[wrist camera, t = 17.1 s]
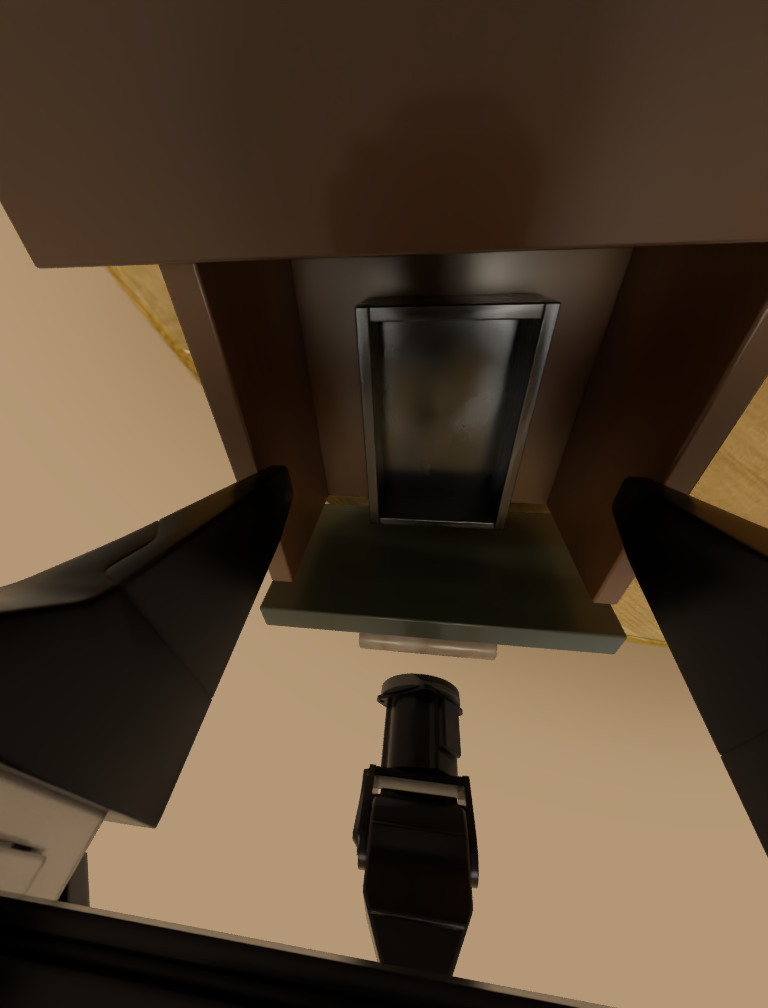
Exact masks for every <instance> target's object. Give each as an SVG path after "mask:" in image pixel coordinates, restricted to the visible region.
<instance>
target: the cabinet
mask: <svg viewBox="0 0 768 1008" xmlns="http://www.w3.org/2000/svg"><path fill="white" fill-rule="evenodd" d="M0 202H1V204H2V206H3V207H4V209H5V211H6V213H7V215H8V217H9V219H10V221H11V222H12V224H13V226H14V228H15V230H16V231H17V233H18V235H19V237H20V239H21V240H22V242H23V244H24V246H25V248H26V250H27V252H28V253H29V255H30V257H31V259H32V261H33V263H34V264H35V266H36V267H38V268H67V267H94V266H95V267H96V266H124V265H152V264H179V263H207V262H235V261H263V260H291V259H319V258H347V257H375V256H403V255H431V254H459V253H487V252H514V251H542V250H570V249H598V248H626V247H654V246H682V245H710V244H738V243H766V242H768V0H0Z"/></svg>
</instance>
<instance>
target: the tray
mask: <svg viewBox="0 0 768 1008" xmlns="http://www.w3.org/2000/svg"><path fill="white" fill-rule="evenodd" d="M560 306H561V302H559V301H556V300H554V299H551V298H549V297H546V296H543V295H541V294H538V293H509V294H470V295H431V296H391V297H368V298H366V299H365V300H364V301H362V302H361V303H360V304H358V305H357V306H355V308H354V309H355V323H356V336H357V350H358V363H359V377H360V390H361V404H362V417H363V431H364V444H365V457H366V471H367V484H368V498H369V511H370V523H371V524H376V525H379V524H380V525H396V526H417V527H437V528H458V529H478V530H493V529H494V530H499V531H503V530H504V526H505V523H506V519H507V515H508V511H509V507H510V503H511V499H512V495H513V491H514V487H515V483H516V479H517V475H518V471H519V468H520V464H521V460H522V456H523V452H524V448H525V444H526V440H527V436H528V432H529V428H530V424H531V420H532V416H533V412H534V409H535V405H536V401H537V397H538V393H539V389H540V385H541V381H542V377H543V373H544V369H545V365H546V361H547V357H548V354H549V350H550V346H551V342H552V338H553V334H554V330H555V326H556V322H557V318H558V314H559V310H560Z"/></svg>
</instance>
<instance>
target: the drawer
mask: <svg viewBox="0 0 768 1008" xmlns="http://www.w3.org/2000/svg"><path fill="white" fill-rule="evenodd" d="M159 267H160V270H161V272H162V275H163V278H164V281H165V283H166V286H167V289H168V292H169V294H170V297H171V300H172V303H173V306H174V308H175V311H176V314H177V317H178V319H179V322H180V325H181V328H182V331H183V333H184V336H185V339H186V342H187V344H188V347H189V350H190V353H191V356H192V358H193V361H194V364H195V367H196V369H197V372H198V375H199V378H200V381H201V383H202V386H203V389H204V392H205V394H206V397H207V400H208V402H209V406H210V408H211V411H212V414H213V417H214V419H215V422H216V424H217V428H218V430H219V433H220V435H221V439H222V442H223V444H224V447H225V450H226V453H227V455H228V458H229V461H230V464H231V466H232V469H233V472H234V475H235V478H236V480H237V482H238V481H240V480H242V479H244V478H246V477H248V476H250V475H253V474H255V473H257V472H259V471H261V470H263V469H265V468H267V467H269V466H271V465H283V466H286V467H287V469H288V471H289V475H290V479H291V483H292V487H293V499H292V503H291V506H290V509H289V513H288V516H287V520H286V523H285V527H284V530H283V533H282V537H281V540H280V542H279V545H278V547H277V550H276V552H275V554H274V557H273V559H272V561H271V563H270V566H269V568H268V569H269V572H270V574H271V578H272V580H273V581H272V583H271V586H270V587H269V590H268V592H267V594H266V596H265V598H264V600H263V602H262V604H261V606H260V610H261V612H262V615H263V617H264V619H265V622H266V624H268V625H277V626H289V627H300V628H313V629H324V630H335V631H347V632H359V645H360V647H361V648H365V649H376V650H388V651H398V652H409V653H420V654H431V655H442V656H453V657H465V658H475V659H486V660H494V659H495V658H496V654H497V644H499V645H510V646H522V647H534V648H546V649H557V650H570V651H580V652H592V653H605V654H615V653H616V652H617V650H618V649H619V648H620V646H621V645H622V644H623V643H624V641H625V640H626V639H627V636H626V634H625V632H624V630H623V628H622V626H621V624H620V622H619V620H618V618H617V616H616V614H615V612H614V610H613V609H612V607H611V605H610V604H617V603H618V602H619V600H620V599H621V597H622V595H623V594H624V592H625V591H626V589H627V588H628V586H629V585H630V583H631V582H632V580H633V579H634V577H635V574H634V572H633V570H632V568H631V565H630V563H629V561H628V558H627V555H626V553H625V550H624V547H623V544H622V541H621V537H620V534H619V531H618V528H617V525H616V522H615V519H614V516H613V513H612V503H613V500H614V498H615V496H616V494H617V492H618V490H619V488H620V486H621V484H622V482H623V480H624V479H625V478H627V477H631V476H634V477H647V478H650V479H652V480H654V481H657V482H659V483H661V484H664V485H666V486H668V487H671V488H673V489H675V490H678V491H680V492H682V493H685V494H687V495H689V494H690V492H691V491H692V489H693V488H694V486H695V485H696V483H697V482H698V480H699V479H700V477H701V476H702V474H703V473H704V471H705V470H706V468H707V467H708V465H709V464H710V462H711V461H712V459H713V458H714V456H715V454H716V453H717V451H718V450H719V448H720V447H721V445H722V444H723V442H724V441H725V439H726V438H727V436H728V435H729V433H730V432H731V430H732V429H733V427H734V426H735V424H736V423H737V421H738V420H739V418H740V417H741V415H742V414H743V412H744V411H745V409H746V407H747V406H748V404H749V403H750V401H751V400H752V398H753V397H754V395H755V394H756V392H757V391H758V389H759V388H760V386H761V385H762V383H763V382H764V380H765V379H766V377H767V376H768V242H766V243H738V244H710V245H682V246H654V247H626V248H598V249H570V250H542V251H514V252H487V253H459V254H431V255H403V256H375V257H347V258H319V259H291V260H263V261H235V262H207V263H179V264H159ZM509 293H538V294H541V295H543V296H546V297H549V298H551V299H554V300H556V301H559V302H561V306H560V310H559V314H558V318H557V322H556V326H555V330H554V334H553V338H552V342H551V346H550V350H549V354H548V357H547V361H546V365H545V369H544V373H543V377H542V381H541V385H540V389H539V393H538V397H537V401H536V405H535V409H534V412H533V416H532V420H531V424H530V428H529V432H528V436H527V440H526V444H525V448H524V452H523V456H522V460H521V464H520V468H519V471H518V475H517V479H516V483H515V487H514V491H513V495H512V499H511V503H532V504H547V506H548V508H549V510H550V512H551V514H539V513H517V512H508V515H507V519H506V523H505V526H504V530H503V531H499V530H494V529H493V530H478V529H458V528H437V527H417V526H396V525H380V524H379V525H376V524H371V523H370V511H369V506H360V505H337V504H325V502H326V500H327V497H328V495H340V496H364V497H368V484H367V471H366V457H365V444H364V431H363V417H362V404H361V390H360V377H359V363H358V350H357V336H356V323H355V309H354V308H355V306H357V305H358V304H360V303H361V302H362V301H364V300H365V299H366V298H368V297H391V296H431V295H470V294H509Z"/></svg>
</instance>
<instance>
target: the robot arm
mask: <svg viewBox="0 0 768 1008" xmlns="http://www.w3.org/2000/svg"><path fill="white" fill-rule="evenodd" d="M292 499H293V487H292V483H291V479H290V475H289V471H288V469H287V467H286V466H283V465H271V466H269V467H267V468H265V469H263V470H261V471H259V472H257V473H255V474H253V475H250V476H248V477H246V478H244V479H242V480H240V481H238V482H236V483H234V484H232V485H230V486H228V487H226V488H224V489H222V490H220V491H218V492H216V493H214V494H211V495H209V496H207V497H205V498H203V499H201V500H199V501H197V502H195V503H193V504H191V505H189V506H187V507H185V508H182V509H180V510H178V511H176V512H174V513H172V514H170V515H168V516H166V517H164V518H162V519H160V521H155V522H153V523H152V524H149V525H147V526H145V527H144V528H141V529H139V530H137V531H135V532H132V533H130V534H128V535H126V536H124V537H122V538H120V539H117V540H115V541H113V542H110V543H108V544H106V545H104V546H102V547H99V548H97V549H95V550H92V551H90V552H88V553H85V554H83V555H80V556H78V557H76V558H73V559H71V560H69V561H66V562H64V563H62V564H59V565H57V566H55V567H52V568H50V569H48V570H45V571H43V572H41V573H38V574H36V575H34V576H31V577H29V578H26V579H24V580H21V581H18V582H16V583H13V584H9V585H6V586H3V587H0V1008H615V1007H610V1006H605V1005H599V1004H594V1003H589V1002H584V1001H578V1000H573V999H568V998H563V997H558V996H552V995H547V994H542V993H537V992H531V991H526V990H521V989H516V988H510V987H505V986H500V985H495V984H490V983H484V982H479V981H474V980H469V979H463V978H458V977H453V976H452V975H453V972H454V969H455V966H456V963H457V960H458V957H459V954H460V950H461V947H462V944H463V941H464V938H465V935H466V931H467V928H468V925H469V922H470V919H471V916H472V911H473V900H472V888H477V887H478V876H479V873H478V872H479V870H478V869H479V868H478V849H477V838H476V830H475V821H474V813H473V805H472V797H471V788H470V780H469V776H462V777H459V776H458V772H457V758H460V756H461V748H460V732H459V716H461V715H462V714H463V713H462V709H461V708H460V707H459V706H457V705H456V704H455V703H453V702H452V701H451V700H449V699H448V698H447V697H446V696H444V695H443V694H442V693H440V692H439V691H438V690H436V689H435V688H434V687H432V686H431V685H428V684H424V685H420V686H415V687H411V688H407V689H403V690H399V691H394V692H390V693H386V694H382V695H379V696H378V698H377V701H378V702H379V703H380V704H382V705H384V706H385V707H387V709H386V719H385V730H384V741H383V751H382V762H381V767H380V766H376V765H374V764H370V768H369V769H364V774H363V781H362V789H361V795H360V800H359V805H358V810H357V815H356V820H355V824H354V829H353V841H354V843H355V844H356V847H357V855H358V869H360V870H365V875H364V884H363V894H364V902H365V910H366V917H367V922H368V925H369V930H370V934H371V938H372V942H373V946H374V949H375V954H376V958H377V962H374V961H369V960H364V959H359V958H353V957H348V956H343V955H337V954H332V953H327V952H322V951H316V950H312V949H306V948H301V947H296V946H290V945H285V944H280V943H275V942H269V941H264V940H259V939H254V938H249V937H244V936H238V935H233V934H228V933H223V932H217V931H211V930H207V929H202V928H196V927H191V926H186V925H181V924H175V923H170V922H165V921H160V920H155V919H149V918H143V917H138V916H134V915H128V914H123V913H118V912H113V911H107V910H102V909H97V908H92V907H90V906H89V884H88V863H87V853H86V852H85V851H86V850H87V848H88V846H89V845H90V843H91V841H92V839H93V838H94V836H95V834H96V832H97V831H98V829H99V827H100V825H101V824H102V822H103V820H104V821H110V822H117V823H123V824H129V825H135V826H141V827H148V828H156V827H157V824H158V823H159V821H160V819H161V817H162V814H163V812H164V810H165V808H166V805H167V803H168V801H169V798H170V796H171V794H172V791H173V789H174V787H175V784H176V782H177V780H178V777H179V775H180V773H181V771H182V768H183V766H184V763H185V761H186V759H187V757H188V754H189V752H190V750H191V747H192V745H193V743H194V740H195V738H196V736H197V733H198V731H199V729H200V726H201V724H202V722H203V720H204V717H205V715H206V713H207V710H208V708H209V705H210V703H211V701H212V699H211V698H212V697H213V696H214V693H215V691H216V689H217V686H218V684H219V682H220V679H221V677H222V675H223V673H224V670H225V668H226V665H227V663H228V661H229V659H230V656H231V654H232V651H233V649H234V647H235V645H236V642H237V640H238V638H239V635H240V633H241V631H242V628H243V626H244V624H245V621H246V619H247V617H248V614H249V612H250V610H251V607H252V605H253V603H254V601H255V598H256V596H257V594H258V591H259V589H260V587H261V584H262V582H263V580H264V577H265V575H266V573H267V570H268V568H269V566H270V563H271V561H272V559H273V557H274V554H275V552H276V550H277V547H278V545H279V542H280V540H281V537H282V533H283V530H284V527H285V523H286V520H287V516H288V513H289V509H290V506H291V503H292ZM612 513H613V516H614V519H615V522H616V525H617V528H618V531H619V534H620V537H621V541H622V544H623V547H624V550H625V553H626V555H627V558H628V561H629V563H630V565H631V568H632V570H633V572H634V574H635V576H636V578H637V580H638V582H639V585H640V587H641V589H642V591H643V593H644V595H645V597H646V599H647V602H648V604H649V606H650V608H651V610H652V612H653V614H654V616H655V618H656V621H657V623H658V625H659V627H660V629H661V631H662V633H663V635H664V638H665V640H666V642H667V644H668V646H669V648H670V650H671V652H672V655H673V657H674V659H675V661H676V663H677V665H678V667H679V669H680V672H681V674H682V676H683V678H684V680H685V682H686V684H687V686H688V688H689V691H690V693H691V695H692V697H693V699H694V701H695V703H696V705H697V708H698V710H699V712H700V714H701V716H702V718H703V720H704V722H705V725H706V727H707V729H708V731H709V733H710V735H711V737H712V739H713V741H714V744H715V746H716V748H717V750H718V752H719V753H720V755H722V756H721V759H722V761H723V763H724V765H725V768H726V770H727V771H728V774H729V776H730V778H731V780H732V782H733V784H734V787H735V789H736V791H737V793H738V795H739V797H740V799H741V801H742V804H743V806H744V808H745V810H746V812H747V814H748V816H749V818H750V821H751V822H752V825H753V827H754V829H755V831H756V833H757V836H758V838H759V840H760V842H761V844H762V846H763V848H764V850H765V852H766V855H767V856H768V529H767V528H764V527H762V526H760V525H757V524H755V523H753V522H750V521H748V520H746V519H743V518H741V517H739V516H736V515H734V514H732V513H729V512H727V511H725V510H722V509H720V508H718V507H715V506H713V505H711V504H708V503H706V502H704V501H701V500H699V499H696V498H694V497H692V496H689V495H687V494H685V493H682V492H680V491H678V490H675V489H673V488H671V487H668V486H666V485H664V484H661V483H659V482H657V481H654V480H652V479H650V478H647V477H634V476H631V477H627V478H625V479H624V480H623V482H622V484H621V486H620V488H619V490H618V492H617V494H616V496H615V498H614V500H613V503H612ZM378 789H381V793H380V794H378ZM457 799H458V802H457Z"/></svg>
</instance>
